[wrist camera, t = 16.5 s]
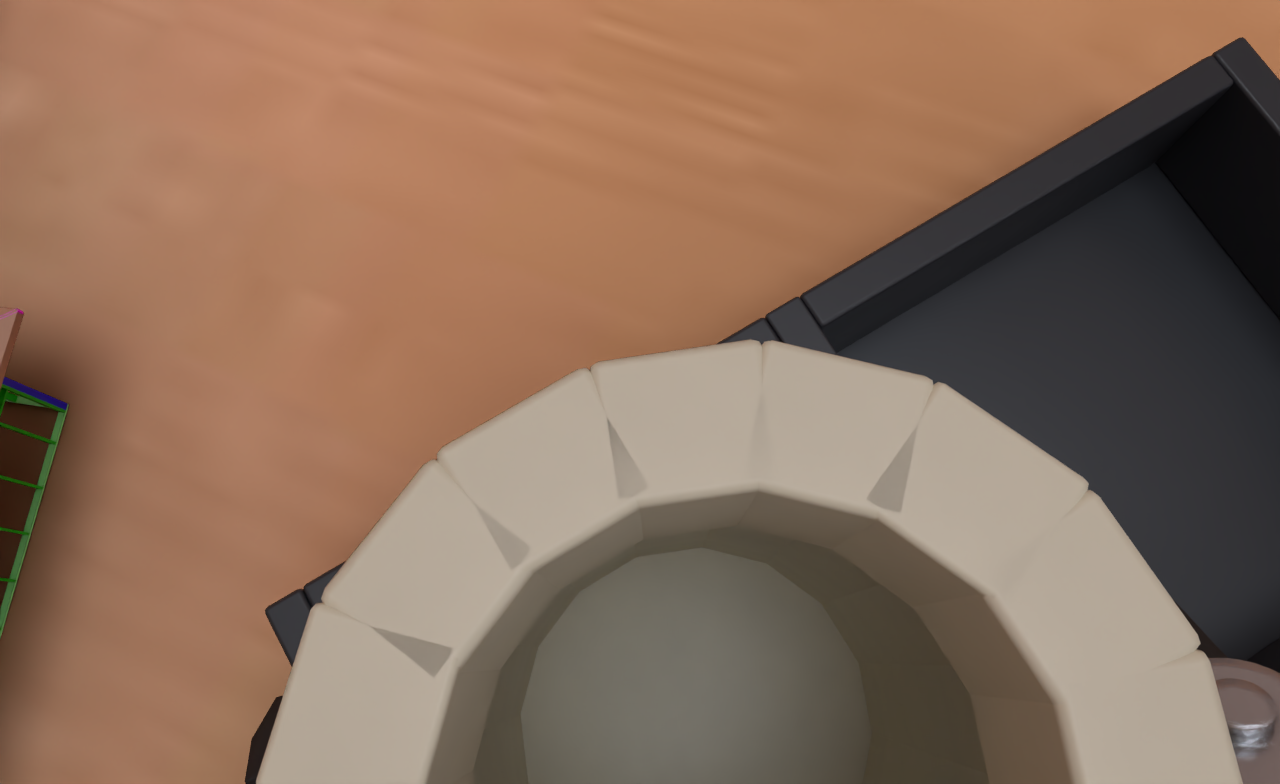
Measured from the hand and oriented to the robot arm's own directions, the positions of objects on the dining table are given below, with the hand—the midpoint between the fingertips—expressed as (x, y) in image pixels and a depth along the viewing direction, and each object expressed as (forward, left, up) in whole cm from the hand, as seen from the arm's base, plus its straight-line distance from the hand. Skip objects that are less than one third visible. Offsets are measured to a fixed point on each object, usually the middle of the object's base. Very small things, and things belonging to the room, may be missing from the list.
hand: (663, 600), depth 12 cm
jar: (0, +2, -5) cm, 5 cm away
